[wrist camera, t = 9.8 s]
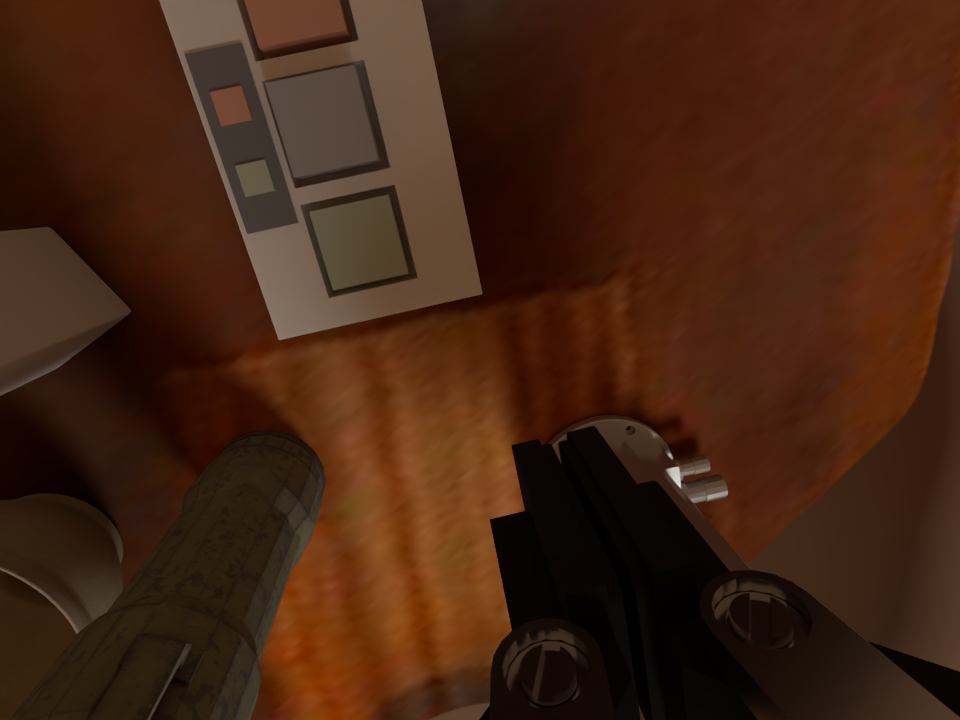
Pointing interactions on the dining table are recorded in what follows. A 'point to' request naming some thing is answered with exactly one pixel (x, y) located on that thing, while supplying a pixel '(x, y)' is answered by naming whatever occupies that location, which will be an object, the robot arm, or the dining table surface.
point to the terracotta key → (297, 25)
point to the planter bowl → (50, 584)
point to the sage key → (360, 241)
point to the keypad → (287, 200)
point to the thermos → (196, 597)
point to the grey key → (324, 121)
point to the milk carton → (47, 305)
